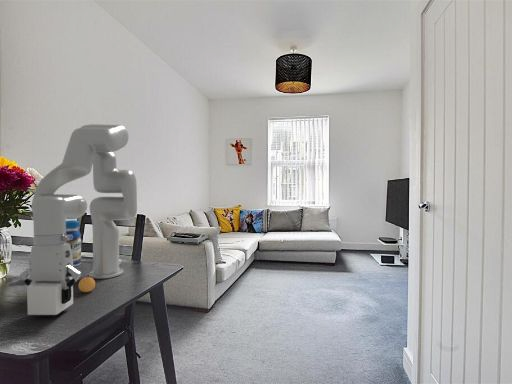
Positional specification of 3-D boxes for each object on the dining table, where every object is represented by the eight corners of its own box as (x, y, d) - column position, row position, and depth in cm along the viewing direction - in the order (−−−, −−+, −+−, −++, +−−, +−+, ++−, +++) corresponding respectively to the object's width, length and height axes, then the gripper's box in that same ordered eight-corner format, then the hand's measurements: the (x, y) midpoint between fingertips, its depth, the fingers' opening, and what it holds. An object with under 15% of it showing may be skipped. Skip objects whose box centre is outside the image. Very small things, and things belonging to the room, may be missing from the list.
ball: (79, 294, 104) (85, 281, 108) (94, 294, 104) (99, 281, 108) (73, 287, 101) (79, 274, 104) (88, 288, 101) (94, 274, 104)
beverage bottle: (67, 262, 143) (67, 220, 142) (85, 262, 142) (85, 220, 142) (55, 267, 134) (54, 222, 134) (74, 267, 134) (73, 222, 133)
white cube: (47, 303, 90) (46, 277, 90) (73, 303, 90) (72, 277, 90) (27, 314, 83) (27, 286, 82) (56, 314, 83) (55, 286, 82)
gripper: (88, 237, 90) (89, 297, 90) (29, 237, 90) (30, 296, 90) (73, 242, 82) (74, 307, 83) (8, 242, 82) (10, 307, 83)
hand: (51, 301), depth 86 cm, fingers closed on white cube, 7 cm apart
